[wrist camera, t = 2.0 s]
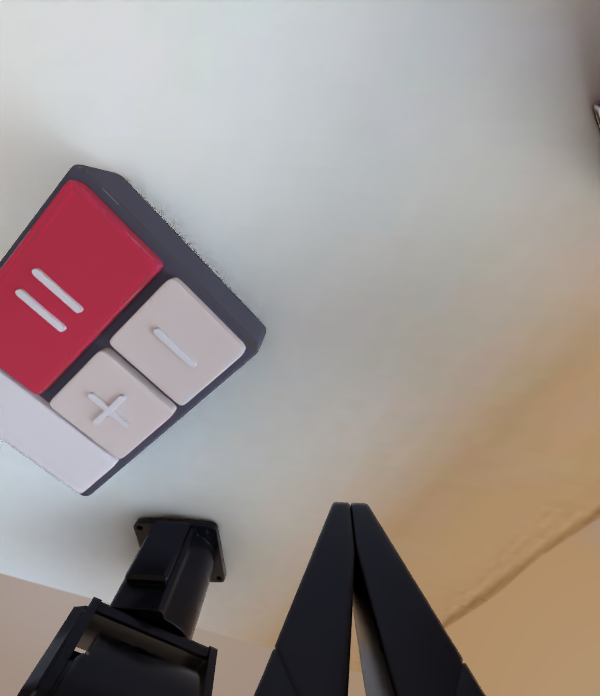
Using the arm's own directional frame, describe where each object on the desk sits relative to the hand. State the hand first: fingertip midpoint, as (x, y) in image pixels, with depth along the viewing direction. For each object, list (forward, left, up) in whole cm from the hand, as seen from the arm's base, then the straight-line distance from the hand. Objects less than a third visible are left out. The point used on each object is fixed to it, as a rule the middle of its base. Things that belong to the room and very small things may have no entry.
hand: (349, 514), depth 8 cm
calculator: (0, +13, -12) cm, 18 cm away
